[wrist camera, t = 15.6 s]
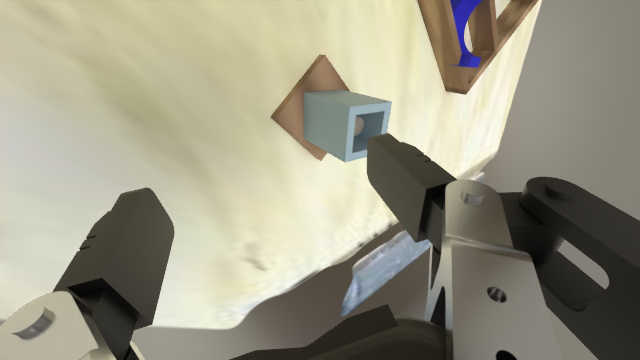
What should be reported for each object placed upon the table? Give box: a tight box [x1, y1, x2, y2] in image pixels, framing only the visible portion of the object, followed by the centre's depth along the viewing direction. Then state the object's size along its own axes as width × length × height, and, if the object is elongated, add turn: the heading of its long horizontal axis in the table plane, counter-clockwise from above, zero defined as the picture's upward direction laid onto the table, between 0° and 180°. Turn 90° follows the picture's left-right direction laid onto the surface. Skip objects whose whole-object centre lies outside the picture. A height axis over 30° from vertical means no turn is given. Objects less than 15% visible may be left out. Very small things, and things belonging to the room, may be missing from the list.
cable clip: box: [448, 0, 482, 67], centre depth 41 cm, size 12×4×6 cm, turn 177°
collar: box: [304, 90, 392, 162], centre depth 31 cm, size 6×6×9 cm
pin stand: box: [271, 55, 364, 161], centre depth 32 cm, size 10×10×8 cm
